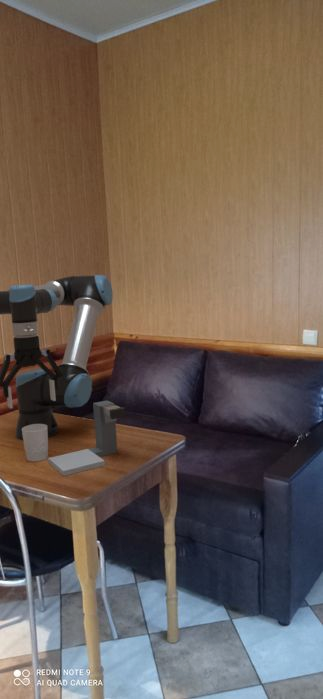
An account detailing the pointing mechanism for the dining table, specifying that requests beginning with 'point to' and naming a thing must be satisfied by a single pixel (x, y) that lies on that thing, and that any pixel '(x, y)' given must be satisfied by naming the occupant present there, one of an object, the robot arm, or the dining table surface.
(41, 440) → the white cup
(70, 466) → the frame
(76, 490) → the dining table surface
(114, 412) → the handle
